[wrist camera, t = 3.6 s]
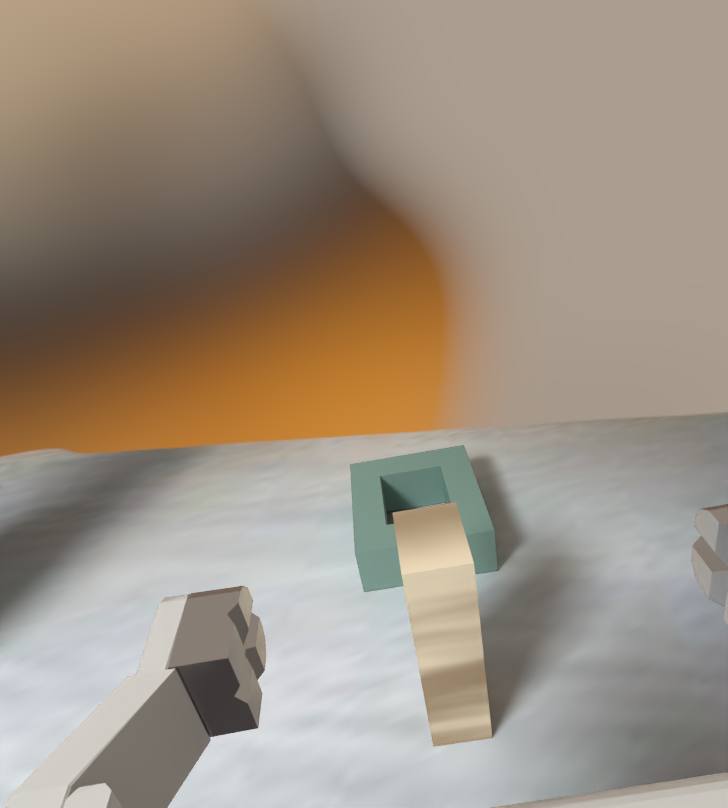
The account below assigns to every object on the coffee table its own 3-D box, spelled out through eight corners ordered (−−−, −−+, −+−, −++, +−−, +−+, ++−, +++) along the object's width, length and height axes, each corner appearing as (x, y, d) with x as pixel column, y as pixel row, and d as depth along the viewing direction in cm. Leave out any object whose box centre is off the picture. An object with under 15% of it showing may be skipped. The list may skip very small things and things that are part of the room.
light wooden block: (492, 737, 30) (473, 562, 25) (433, 746, 30) (401, 574, 25) (475, 669, 34) (455, 502, 28) (422, 677, 34) (392, 512, 28)
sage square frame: (497, 570, 40) (494, 530, 38) (364, 591, 40) (355, 553, 39) (467, 481, 49) (463, 445, 47) (357, 499, 49) (350, 464, 47)
